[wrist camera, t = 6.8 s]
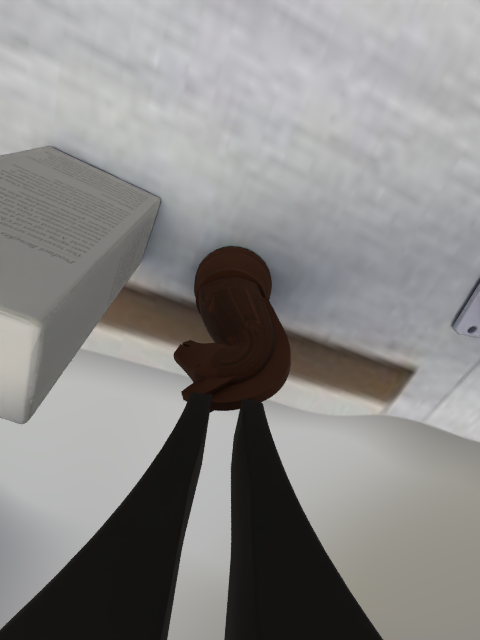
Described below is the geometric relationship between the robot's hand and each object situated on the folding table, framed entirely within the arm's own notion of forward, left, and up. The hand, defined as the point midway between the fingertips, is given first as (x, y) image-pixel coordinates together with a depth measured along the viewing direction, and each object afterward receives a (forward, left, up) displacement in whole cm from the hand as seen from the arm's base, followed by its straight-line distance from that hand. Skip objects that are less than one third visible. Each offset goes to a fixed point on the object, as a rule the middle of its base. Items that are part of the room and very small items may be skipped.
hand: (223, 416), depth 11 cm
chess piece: (0, 0, -11) cm, 11 cm away
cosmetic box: (+8, -3, -11) cm, 14 cm away
